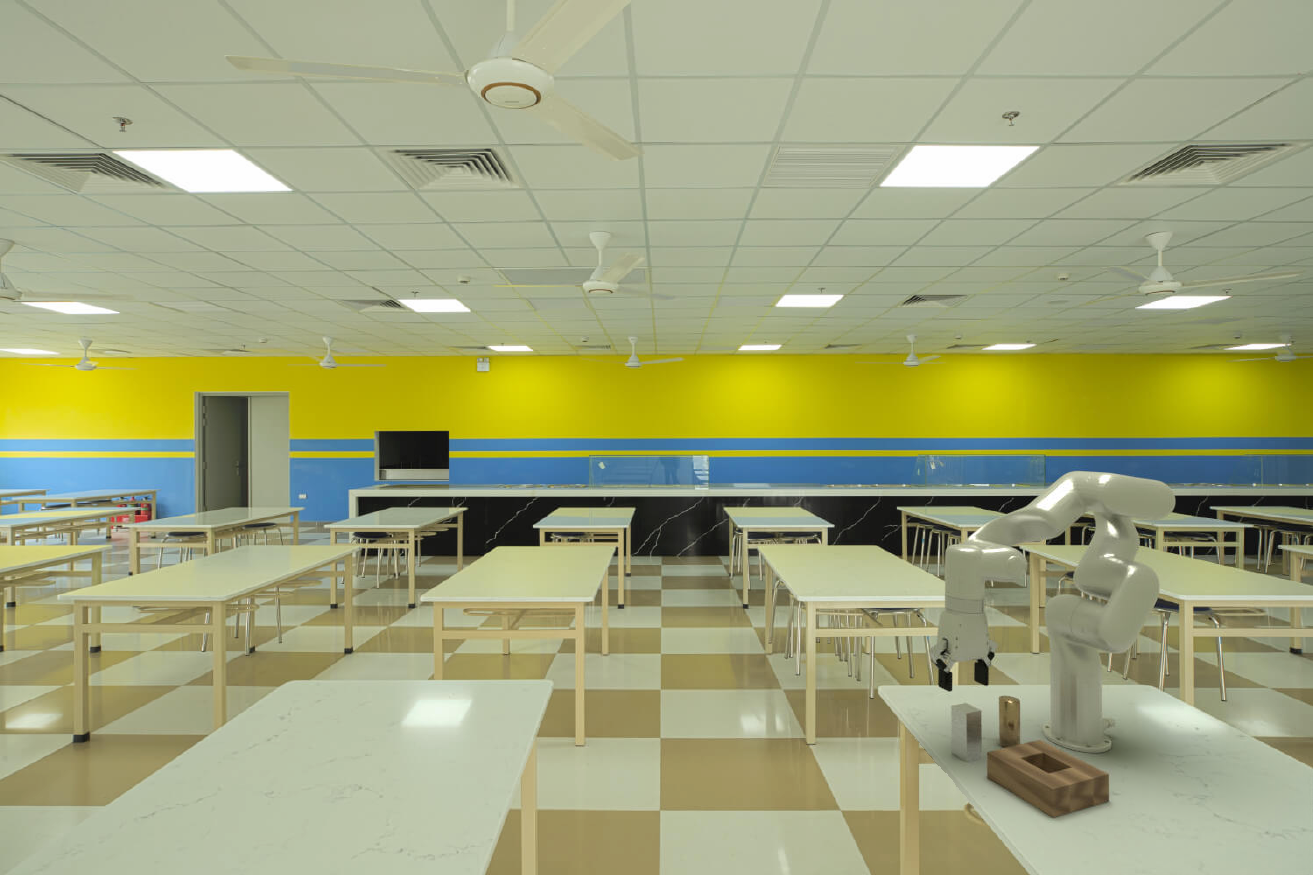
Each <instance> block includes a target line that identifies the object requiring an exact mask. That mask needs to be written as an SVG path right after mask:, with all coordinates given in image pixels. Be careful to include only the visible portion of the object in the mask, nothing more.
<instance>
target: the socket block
mask: <svg viewBox="0 0 1313 875" xmlns="http://www.w3.org/2000/svg"><path fill="white" fill-rule="evenodd" d="M986 766H987V767H986V772H987V774H986V775H987V776H986V778H987V779H990V781H992V782H994V783H995V784H998V785H999V786H1001V787H1002V788H1004V789H1005V790H1007V791H1008V792H1010V793H1012V794H1013V795H1016V796H1017V798H1018V797H1019V798H1020V799H1021V800H1023V801H1025V802H1027V803H1029V804H1030V805H1032V806H1034V807H1035V808H1037V809H1038V810H1040V811H1042V812H1043V813H1045V814H1046V815H1048V816H1050V817H1051V818H1056V817H1059V816H1060V817H1061V816H1064V815H1067V814H1071V813H1074V812H1079V811H1080V810H1084V809H1087V808H1090V807H1093V806H1098V805H1100V804H1105V803H1108V802H1109V801H1110V774H1109V773H1107V772H1105V771H1103V770H1101V769H1099V768H1098V767H1095V766H1093V765H1092V764H1089V763H1088V762H1085V761H1083V760H1082V759H1080V758H1077V757H1076V756H1073V755H1071V754H1069V753H1068V752H1065V751H1063V750H1061V749H1059V748H1057V747H1055V746H1053V745H1051V744H1049V743H1047V742H1045V741H1043V740H1041V739H1037V740H1032V741H1028V742H1023V743H1020V744H1019V745H1015V746H1011V747H1007V748H1003V747H1002V748H999V749H994V750H990V751H987V752H986Z"/></svg>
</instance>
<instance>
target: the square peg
mask: <svg viewBox="0 0 1313 875" xmlns="http://www.w3.org/2000/svg"><path fill="white" fill-rule="evenodd" d="M950 710H951V711H950V712H951V717H950V718H951V753H952V754H953V755H955V756H956V757H958V758H959V759H962V761H965V763H969V762H973V761H977V760H981V759H982V758H983V754H982V753H983V751H982V749H983V748H982V747H983V746H982V742H983V738H982V735H983V734H982V730H983V729H982V709H980V708H977V707H976V706H973V705H971V704H969V703H968V702H964V703H959V704H954V705H951V709H950Z"/></svg>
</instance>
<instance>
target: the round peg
mask: <svg viewBox="0 0 1313 875" xmlns="http://www.w3.org/2000/svg"><path fill="white" fill-rule="evenodd" d="M998 739H999V740H998V743H999V746H1000V747H1002V749H1003V748H1007V747H1011V746H1015V745H1019V744H1021V700H1020V699H1018V698H1017V697H1014V696H1010V695H999V697H998Z"/></svg>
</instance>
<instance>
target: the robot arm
mask: <svg viewBox="0 0 1313 875" xmlns="http://www.w3.org/2000/svg"><path fill="white" fill-rule="evenodd" d="M1175 507H1176V496H1175V494H1174V491H1173V490H1172V488H1171V487H1170V486H1169V485H1168V484H1166V483H1165V482H1163V481H1160V480H1156V479H1150V478H1143V477H1135V476H1130V475H1126V474H1125V475H1124V474H1118V473H1113V472H1104V471H1103V472H1102V471H1101V472H1099V471H1084V470H1083V471H1082V470H1074V471H1069V472H1067V473H1064V474H1063V475H1062V476H1060V477H1059V478H1058V479H1056V481H1054V482H1053V483H1052V484H1051V485H1049V486H1048V487H1047V488H1046V489H1045V490H1044V491H1042V492H1041V493H1040V494H1039V495H1038V496H1037V497H1036V498H1034V499H1033V500H1032V501H1031V502H1030V503H1029V504H1027V505H1026V506H1024V507H1022V508H1019V509H1017V510H1013V511H1011V512H1009V513H1006V514H1005V515H1004V514H1003V515H1001V516H998V517H997V518H994V519H992V520H990V521H988V522H986V523H985V524H983V525H982V526H980V527H979V528H978V529H976V530H975V531H974V532H973V533H972V534H970V535H969V536H968V537H967V538H966V539H965V540H964V542H963V543H960V544H959V543H957V544H951V545H949V546H947V548H946V549H945V558H944V559H945V561H944V562H945V564H944V566H945V567H944V568H945V569H944V570H945V571H944V573H945V574H944V584H945V585H944V609H942V610H941V612H940V616H939V619H938V620H939V621H938V628H937V637H936V644H935V645H933V646H932V647H931V648H930V649H929V650H928V653H929V655H930V659H931V661H932V663H933V664H934V665H935V668H937V669H938V673H937V674H938V675H937V676H938V678H937V680H938V681H937V683H938V684H937V685H938V687H939V688H941V689H942V690H945V691H947V692H953V672H952V671H951V670H952V669H953V666H954V665H955V663H963V662H970V661H976V662H974V665H973V666H974V668H973V669H974V670H973V672H974V674H973V675H974V676H973V679H974V682H975V683H977V684H979V685H981V686H985V687H988V686H989V682H990V681H989V680H990V679H989V675H990V667H991V666H992V660H994V658H995V657H996V656H995V655H996V654H995V653H996V651H997V648H998V646H999V645H998V643H997V642H996V641H994V640H992V639H990V638H989V637H990V634H989V624H988V617H987V613H986V611H985V608H986V606H985V604H987V600H986V598H985V596H986V592H985V591H986V588H985V587H986V581H992V582H999V583H1010V582H1011V583H1012V582H1016V581H1018V580H1020V579H1022V578H1023V576H1024V575H1025V574H1026V572H1027V570H1028V562H1027V559H1026V557H1025V555H1024V554H1023V553H1022V552H1021V551H1020V550H1019V549H1017V548H1014V547H1013V546H1016V545H1020V544H1024V543H1034V542H1041V541H1046V540H1052V539H1054V538H1057V537H1060V536H1061V535H1062V534H1063V533H1064V532H1065V531H1066V530H1067V529H1068V528H1069V527H1070V526H1072V525H1073V524H1074V523H1075V522H1076V521H1078V520H1079V518H1081V517H1082V516H1083V515H1085V513H1088V512H1092V513H1093V516H1094V517H1093V518H1094V521H1095V530H1094V533H1093V536H1092V539H1091V540H1090V542H1089V544H1088V546H1087V548H1086V550H1085V551H1084V553H1083V555H1082V556H1081V558H1080V560H1079V562H1078V564H1077V566H1076V568H1075V570H1074V571H1073V572H1074V573H1073V575H1072V576H1073V577H1072V580H1073V584H1074V586H1075V587H1076V589H1077V590H1079V591H1080V592H1082V593H1084V594H1086V595H1087V596H1092V597H1094V598H1098V599H1100V600H1101V599H1102V600H1104V601H1107V603H1104V602H1100V601H1098V600H1097V601H1096V600H1094V599H1090V598H1086V597H1082V596H1079V595H1075V594H1067V593H1062V594H1057V595H1055V596H1053V597H1051V598H1050V599H1049V600H1048V601H1047V603H1046V604H1045V608H1044V612H1043V613H1044V614H1043V615H1044V624H1045V627H1046V631H1047V637H1048V642H1049V661H1050V662H1049V663H1050V664H1049V666H1050V667H1049V671H1050V672H1049V673H1050V674H1049V678H1050V681H1049V684H1050V690H1049V691H1050V695H1049V696H1050V698H1049V699H1050V722H1047V723H1045V724H1043V726H1042V734H1043V736H1044V737H1045V738H1046V739H1047V740H1048V741H1050V742H1051V743H1054V744H1055V745H1057V746H1059V747H1061V748H1065V749H1068V750H1073V751H1078V752H1081V753H1089V754H1091V753H1092V754H1100V753H1105V752H1107V751H1109V750H1111V749H1112V741H1111V738H1109V736H1107V735H1106V734H1105V731H1106V730H1107V729H1109V728H1112V727H1115V726H1116V721H1115V720H1114V718H1112V717H1105V718H1103V668H1102V667H1103V666H1102V664H1103V663H1102V659H1101V658H1102V657H1101V656H1100V653H1099V650H1100V651H1102V652H1106V653H1110V654H1121V653H1124V652H1126V651H1128V650H1129V649H1130V648H1131V647H1132V646H1133V644H1135V642H1136V640H1137V639H1138V637H1139V635H1140V633H1141V631H1142V629H1143V628H1144V626H1145V624H1146V622H1147V620H1148V618H1149V617H1150V614H1151V613H1152V611H1153V609H1154V607H1155V604H1156V603H1157V601H1158V599H1159V595H1160V580H1159V577H1158V575H1157V572H1155V570H1154V569H1153V568H1152V567H1150V566H1148V565H1147V564H1145V563H1141V562H1138V561H1134V560H1135V558H1136V556H1137V554H1138V552H1139V548H1140V544H1141V542H1140V541H1141V540H1140V536H1139V532H1138V531H1137V529H1136V526H1135V523H1134V521H1133V519H1141V520H1148V521H1160V520H1162V519H1165V518H1166V517H1168V516H1169V515H1170V514H1171V513H1172V512H1173V510H1174V509H1175ZM1132 518H1133V519H1132ZM946 661H947V662H946ZM945 662H946V663H945Z"/></svg>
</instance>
